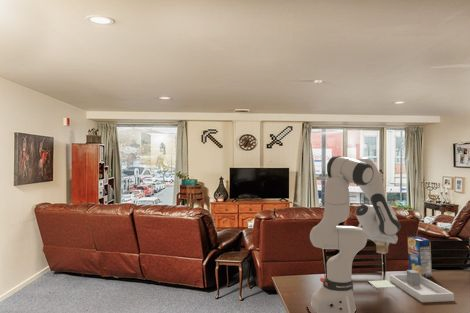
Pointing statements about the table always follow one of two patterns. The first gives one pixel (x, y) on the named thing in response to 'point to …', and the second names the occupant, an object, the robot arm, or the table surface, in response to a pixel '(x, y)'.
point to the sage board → (381, 284)
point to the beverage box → (420, 255)
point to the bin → (423, 289)
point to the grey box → (413, 277)
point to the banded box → (381, 247)
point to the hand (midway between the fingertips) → (382, 243)
